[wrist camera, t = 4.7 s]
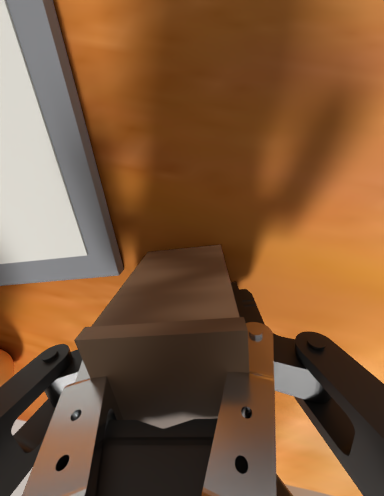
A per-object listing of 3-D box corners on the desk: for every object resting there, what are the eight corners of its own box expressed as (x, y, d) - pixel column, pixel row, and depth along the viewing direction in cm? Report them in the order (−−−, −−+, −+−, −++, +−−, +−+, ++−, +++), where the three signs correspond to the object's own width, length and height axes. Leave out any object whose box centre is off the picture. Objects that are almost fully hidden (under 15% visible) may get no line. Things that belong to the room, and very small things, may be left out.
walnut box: (222, 242, 11) (247, 329, 5) (228, 326, 14) (253, 467, 7) (145, 250, 12) (74, 340, 5) (163, 330, 14) (127, 466, 7)
